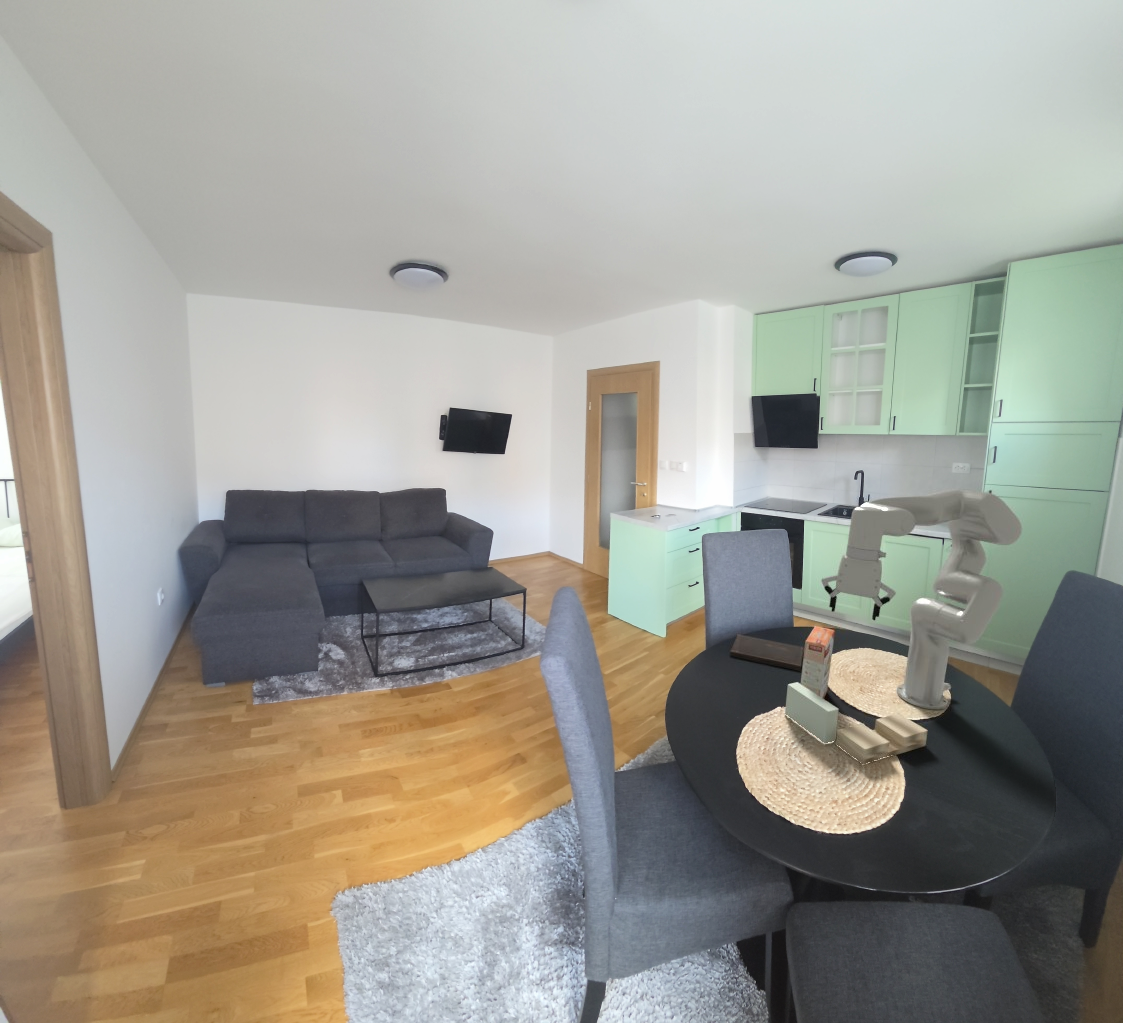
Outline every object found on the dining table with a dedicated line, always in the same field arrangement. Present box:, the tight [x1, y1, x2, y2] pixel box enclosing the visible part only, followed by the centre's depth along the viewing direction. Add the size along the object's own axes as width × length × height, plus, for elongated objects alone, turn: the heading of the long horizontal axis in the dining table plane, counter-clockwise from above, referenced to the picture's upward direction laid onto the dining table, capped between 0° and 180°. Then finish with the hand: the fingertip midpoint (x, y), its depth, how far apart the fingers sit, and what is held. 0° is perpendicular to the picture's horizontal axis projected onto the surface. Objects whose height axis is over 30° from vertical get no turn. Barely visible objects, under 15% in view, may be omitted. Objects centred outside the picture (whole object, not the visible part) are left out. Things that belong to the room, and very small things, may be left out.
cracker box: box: [800, 625, 836, 700], centre depth 151 cm, size 14×6×21 cm, turn 142°
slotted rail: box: [835, 712, 928, 765], centre depth 131 cm, size 22×8×4 cm, turn 109°
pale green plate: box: [784, 681, 840, 743], centre depth 138 cm, size 4×14×10 cm, turn 19°
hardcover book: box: [729, 634, 805, 672], centre depth 181 cm, size 16×23×2 cm
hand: (853, 614), depth 136 cm, fingers open, 9 cm apart
